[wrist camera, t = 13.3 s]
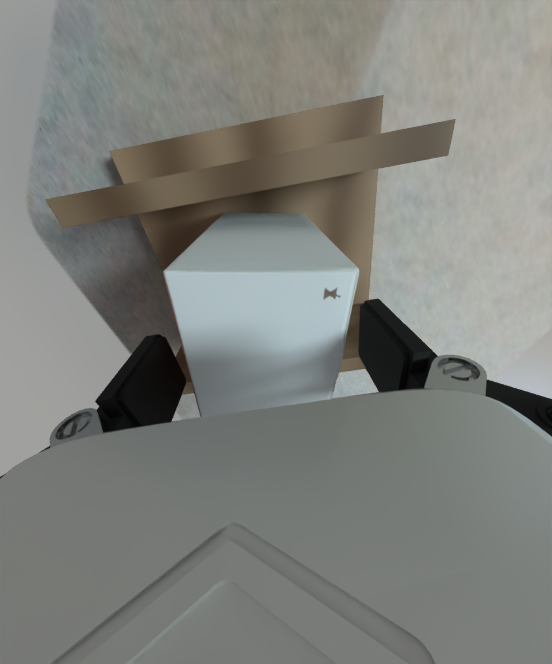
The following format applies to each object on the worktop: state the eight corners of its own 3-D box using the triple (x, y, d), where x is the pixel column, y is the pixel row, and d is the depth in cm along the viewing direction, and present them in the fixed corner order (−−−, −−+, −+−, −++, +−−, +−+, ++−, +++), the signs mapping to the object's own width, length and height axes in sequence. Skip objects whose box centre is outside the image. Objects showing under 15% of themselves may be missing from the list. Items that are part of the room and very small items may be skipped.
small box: (222, 211, 18) (156, 265, 7) (305, 212, 18) (368, 266, 7) (232, 306, 22) (200, 429, 11) (298, 306, 22) (329, 426, 12)
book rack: (374, 101, 16) (473, 32, 8) (361, 324, 26) (401, 384, 18) (120, 153, 17) (3, 133, 9) (203, 348, 27) (179, 415, 19)
